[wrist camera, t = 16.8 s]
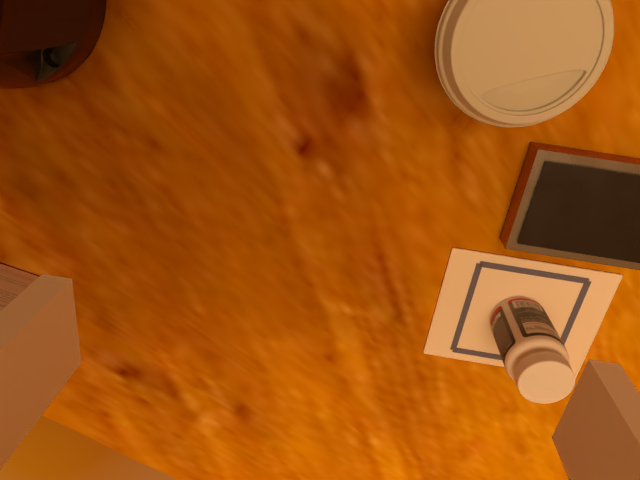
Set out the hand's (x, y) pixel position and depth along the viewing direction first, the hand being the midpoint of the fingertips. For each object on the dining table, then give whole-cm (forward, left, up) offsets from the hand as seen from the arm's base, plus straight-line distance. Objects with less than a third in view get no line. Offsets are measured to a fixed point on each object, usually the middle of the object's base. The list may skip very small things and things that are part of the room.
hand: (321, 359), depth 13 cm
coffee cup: (+8, +7, -28) cm, 30 cm away
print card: (+17, -15, -28) cm, 36 cm away
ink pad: (+19, -4, -28) cm, 34 cm away
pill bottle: (+17, -15, -28) cm, 36 cm away
